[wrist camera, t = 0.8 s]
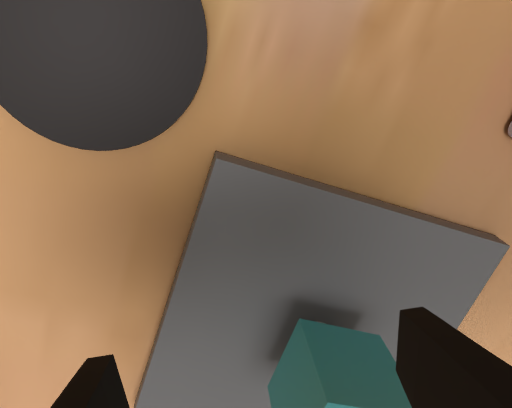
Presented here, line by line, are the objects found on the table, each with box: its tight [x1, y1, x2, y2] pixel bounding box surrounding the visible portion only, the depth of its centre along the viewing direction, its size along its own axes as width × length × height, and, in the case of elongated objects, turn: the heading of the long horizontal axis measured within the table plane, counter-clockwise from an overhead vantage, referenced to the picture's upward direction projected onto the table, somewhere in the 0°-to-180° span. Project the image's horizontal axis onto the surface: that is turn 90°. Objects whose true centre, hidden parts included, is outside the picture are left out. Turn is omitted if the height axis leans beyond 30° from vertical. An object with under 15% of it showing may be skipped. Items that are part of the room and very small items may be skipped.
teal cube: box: [267, 318, 412, 408], centre depth 18 cm, size 4×4×5 cm
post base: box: [134, 151, 510, 408], centre depth 20 cm, size 16×16×7 cm
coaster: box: [0, 0, 207, 151], centre depth 16 cm, size 9×9×1 cm
